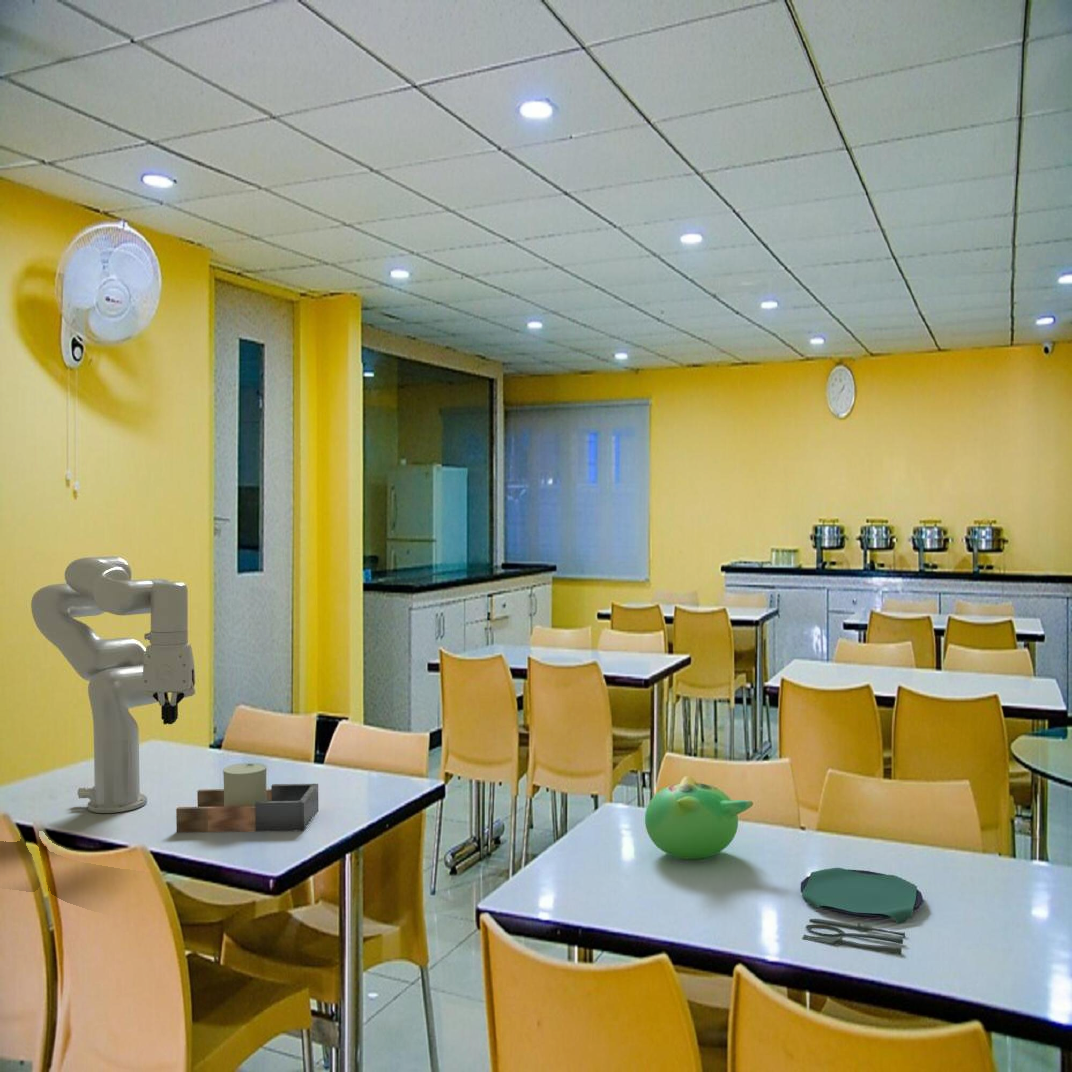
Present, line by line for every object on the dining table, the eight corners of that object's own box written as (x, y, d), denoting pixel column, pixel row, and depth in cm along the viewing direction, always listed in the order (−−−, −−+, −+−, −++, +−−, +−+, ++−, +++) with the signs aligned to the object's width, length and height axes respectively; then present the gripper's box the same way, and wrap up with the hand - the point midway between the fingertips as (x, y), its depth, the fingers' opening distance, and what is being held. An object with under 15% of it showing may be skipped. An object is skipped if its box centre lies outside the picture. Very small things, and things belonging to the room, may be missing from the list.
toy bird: (710, 837, 197) (710, 765, 196) (757, 864, 181) (757, 786, 181) (631, 848, 190) (630, 774, 190) (673, 878, 174) (673, 797, 174)
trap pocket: (255, 831, 202) (255, 803, 202) (273, 810, 217) (272, 784, 217) (304, 830, 202) (303, 802, 202) (318, 810, 217) (318, 783, 217)
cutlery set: (926, 889, 169) (926, 876, 169) (915, 964, 142) (915, 948, 142) (810, 873, 177) (810, 861, 177) (778, 941, 150) (778, 926, 150)
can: (273, 814, 214) (273, 761, 214) (258, 828, 205) (257, 771, 204) (233, 813, 215) (233, 760, 214) (216, 827, 205) (215, 771, 205)
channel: (176, 832, 202) (176, 808, 202) (199, 811, 216) (199, 789, 216) (255, 831, 202) (255, 807, 202) (273, 810, 217) (272, 788, 217)
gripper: (127, 641, 205) (128, 726, 205) (198, 641, 205) (198, 727, 205) (141, 636, 212) (141, 719, 213) (209, 636, 212) (209, 719, 213)
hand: (169, 722), depth 209 cm, fingers closed
